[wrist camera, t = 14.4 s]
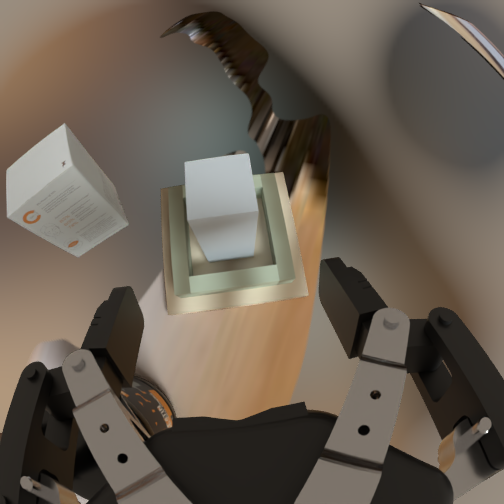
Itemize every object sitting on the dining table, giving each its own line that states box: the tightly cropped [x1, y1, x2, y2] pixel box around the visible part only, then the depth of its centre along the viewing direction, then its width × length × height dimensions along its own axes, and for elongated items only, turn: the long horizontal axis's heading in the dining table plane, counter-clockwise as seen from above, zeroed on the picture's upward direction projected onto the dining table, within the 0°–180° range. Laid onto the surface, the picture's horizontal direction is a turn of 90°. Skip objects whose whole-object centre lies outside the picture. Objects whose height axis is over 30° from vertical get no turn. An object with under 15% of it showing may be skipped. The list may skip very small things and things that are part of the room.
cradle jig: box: [161, 172, 308, 315], centre depth 28 cm, size 14×14×4 cm
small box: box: [6, 124, 129, 257], centre depth 23 cm, size 8×6×13 cm
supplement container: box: [41, 376, 177, 500], centre depth 18 cm, size 10×10×12 cm
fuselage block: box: [185, 154, 259, 263], centre depth 23 cm, size 4×4×11 cm
